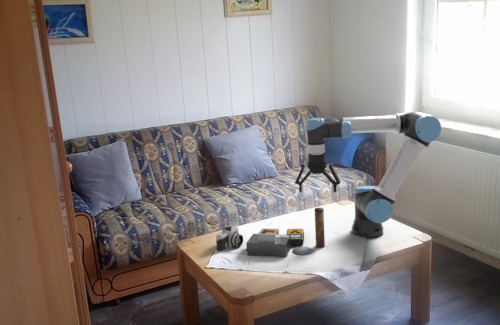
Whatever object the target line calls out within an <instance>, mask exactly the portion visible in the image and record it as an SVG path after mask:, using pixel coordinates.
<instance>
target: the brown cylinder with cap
mask: <svg viewBox="0 0 500 325" xmlns="http://www.w3.org/2000/svg"><path fill="white" fill-rule="evenodd" d="M324 210H325V209H324V208H323V207H315V208H314V224H315V225H314V226H315V248H317V249H322V248H325V247H326V245H325V242H326V241H325V219H324V218H325V215H324V214H325V212H324Z"/></svg>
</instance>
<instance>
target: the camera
mask: <svg viewBox="0 0 500 325" xmlns="http://www.w3.org/2000/svg"><path fill="white" fill-rule="evenodd" d="M215 241H216V242H215V243H216V251H217V253H224V252H225V251H227V250H228V249H232V248H233V247H238V248H239V247H241V246H242V245H243V242H244V237H243V235H242V234H240V233H239V227H238V226H236V225H232V226H225V227H223V228H222V231H221V232H218V233H216V235H215Z"/></svg>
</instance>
